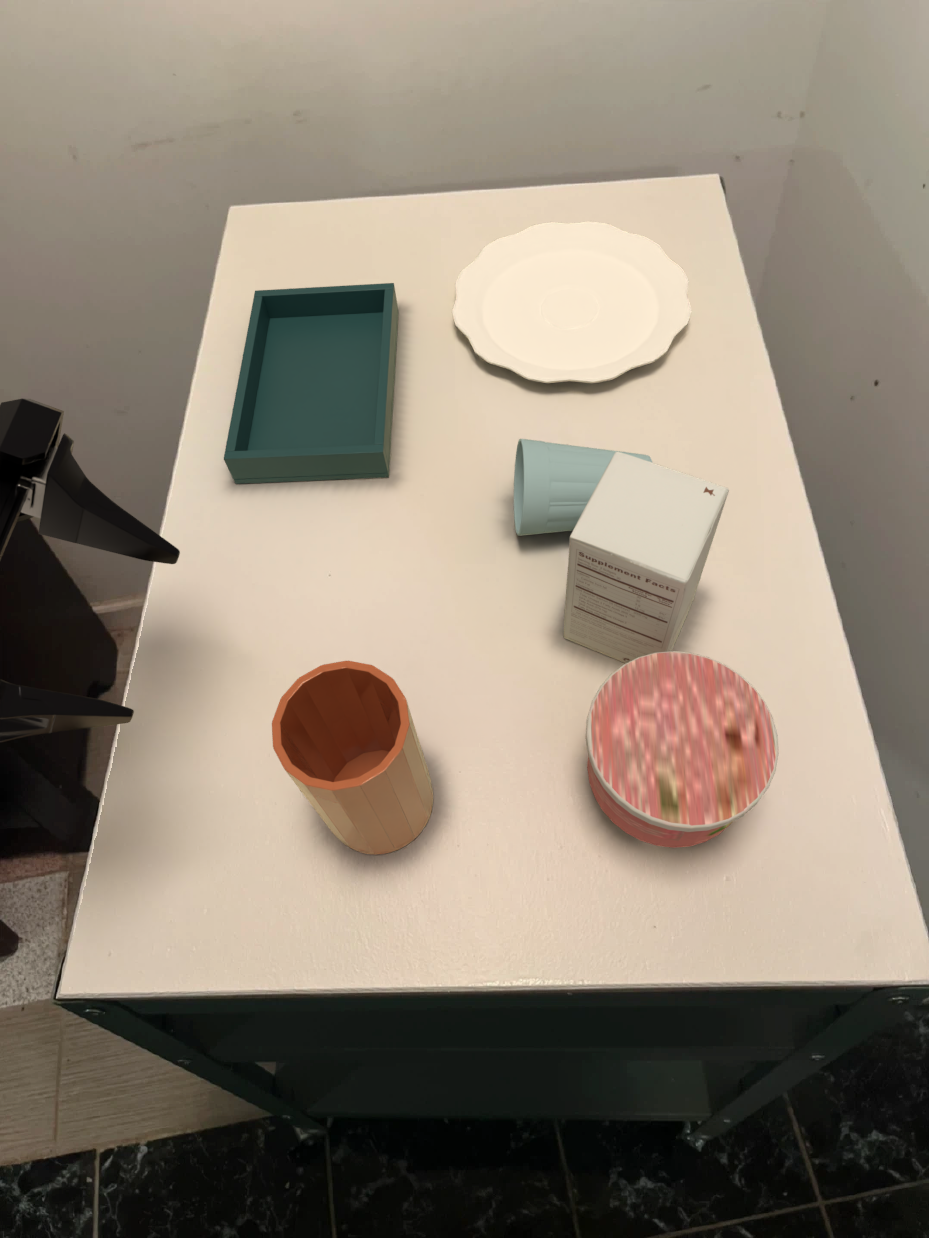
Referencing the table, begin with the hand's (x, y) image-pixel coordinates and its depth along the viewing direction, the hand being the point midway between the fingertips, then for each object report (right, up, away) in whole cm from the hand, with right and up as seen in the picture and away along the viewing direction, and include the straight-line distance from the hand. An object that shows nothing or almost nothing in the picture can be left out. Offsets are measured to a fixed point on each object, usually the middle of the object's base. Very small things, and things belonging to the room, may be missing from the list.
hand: (156, 632), depth 42 cm
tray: (+3, +20, +30) cm, 36 cm away
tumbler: (+10, -11, +11) cm, 19 cm away
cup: (+28, +14, +21) cm, 38 cm away
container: (+28, -10, +11) cm, 32 cm away
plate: (+25, +28, +33) cm, 50 cm away
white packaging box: (+27, +1, +17) cm, 32 cm away
